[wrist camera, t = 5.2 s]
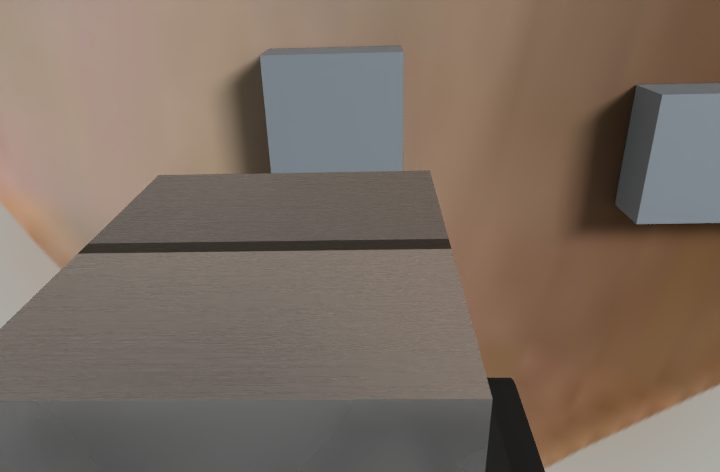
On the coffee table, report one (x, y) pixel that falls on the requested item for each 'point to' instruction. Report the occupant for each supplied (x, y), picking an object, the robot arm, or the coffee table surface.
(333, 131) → the stand
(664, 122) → the stand
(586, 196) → the coffee table surface
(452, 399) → the block
